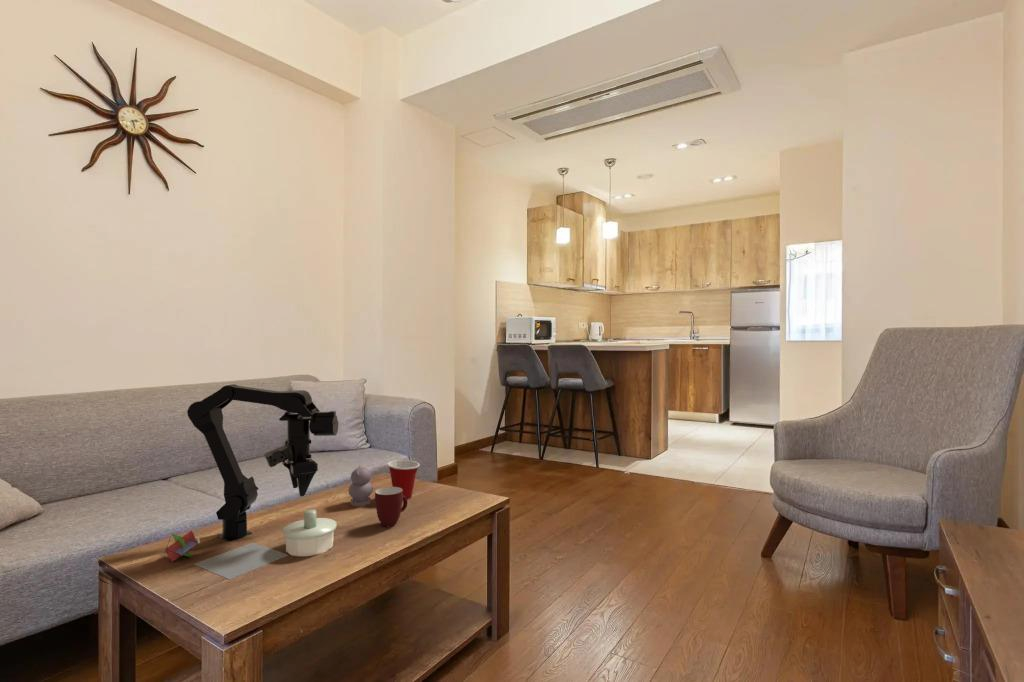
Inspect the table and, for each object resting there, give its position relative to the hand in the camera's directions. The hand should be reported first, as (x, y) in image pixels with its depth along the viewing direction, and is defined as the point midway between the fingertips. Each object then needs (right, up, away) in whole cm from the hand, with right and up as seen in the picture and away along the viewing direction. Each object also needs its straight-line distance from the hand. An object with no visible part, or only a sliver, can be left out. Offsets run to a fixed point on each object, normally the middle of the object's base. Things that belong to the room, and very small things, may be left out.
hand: (298, 491), depth 141 cm
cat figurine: (+9, -12, +27) cm, 31 cm away
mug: (+24, -12, +9) cm, 28 cm away
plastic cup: (+22, -12, +33) cm, 42 cm away
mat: (-7, -12, -17) cm, 22 cm away
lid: (+7, -7, -10) cm, 14 cm away
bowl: (+7, -12, -10) cm, 17 cm away
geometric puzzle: (-22, -12, -16) cm, 30 cm away
